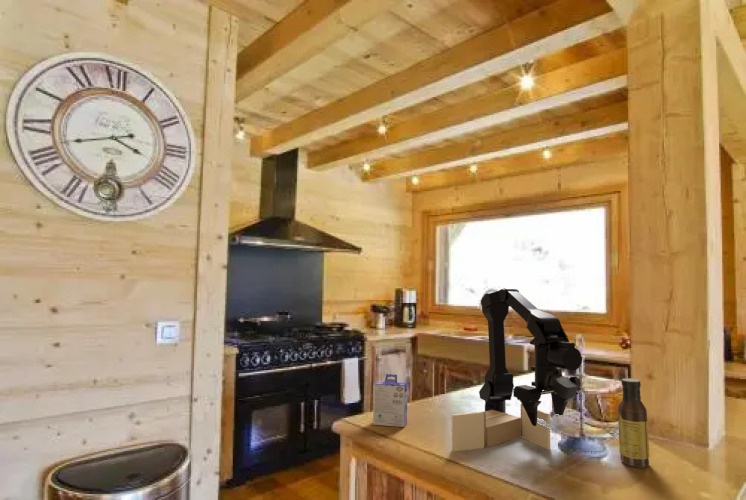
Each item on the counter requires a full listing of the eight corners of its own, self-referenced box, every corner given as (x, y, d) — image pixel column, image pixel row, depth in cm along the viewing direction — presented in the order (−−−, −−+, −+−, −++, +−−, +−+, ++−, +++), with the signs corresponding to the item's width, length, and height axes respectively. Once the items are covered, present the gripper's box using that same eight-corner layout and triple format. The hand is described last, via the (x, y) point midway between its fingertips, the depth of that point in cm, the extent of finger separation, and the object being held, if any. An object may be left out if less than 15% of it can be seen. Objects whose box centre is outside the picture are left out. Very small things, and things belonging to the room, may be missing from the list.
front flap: (451, 450, 117) (451, 414, 117) (484, 446, 120) (484, 411, 120) (453, 451, 116) (453, 415, 116) (486, 447, 119) (486, 412, 119)
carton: (491, 426, 136) (491, 408, 137) (520, 435, 128) (520, 416, 129) (458, 436, 127) (458, 417, 128) (487, 446, 119) (487, 426, 120)
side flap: (520, 436, 128) (519, 403, 129) (523, 435, 128) (522, 403, 129) (547, 449, 118) (547, 414, 119) (550, 449, 118) (550, 413, 119)
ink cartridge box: (407, 422, 140) (408, 374, 141) (405, 427, 134) (405, 378, 135) (376, 420, 142) (376, 372, 143) (372, 425, 136) (373, 376, 137)
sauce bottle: (630, 456, 114) (628, 376, 115) (655, 466, 108) (652, 380, 109) (613, 460, 111) (611, 378, 112) (638, 470, 105) (635, 383, 107)
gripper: (545, 371, 110) (546, 437, 109) (595, 366, 119) (597, 427, 118) (511, 364, 120) (512, 424, 119) (560, 359, 129) (561, 415, 128)
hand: (546, 423), depth 121 cm, fingers open, 9 cm apart
